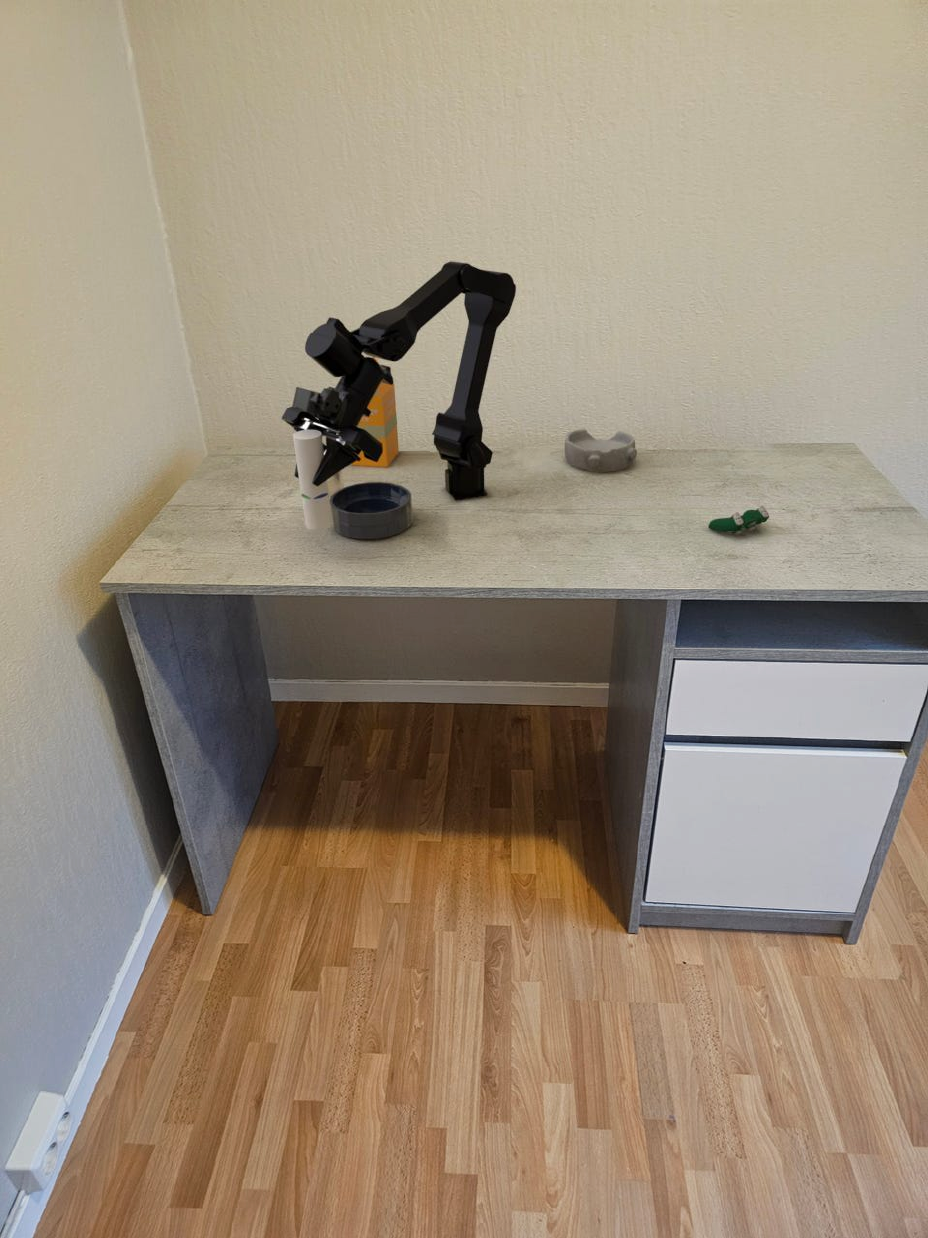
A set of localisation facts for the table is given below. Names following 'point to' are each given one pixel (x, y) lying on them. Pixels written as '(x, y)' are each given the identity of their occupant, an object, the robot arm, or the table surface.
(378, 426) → the orange juice
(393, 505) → the bowl
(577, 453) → the dish
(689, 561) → the table surface
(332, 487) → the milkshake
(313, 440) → the tube
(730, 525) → the green elongated piece
